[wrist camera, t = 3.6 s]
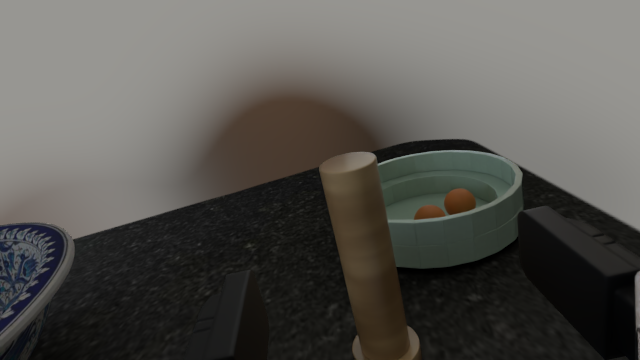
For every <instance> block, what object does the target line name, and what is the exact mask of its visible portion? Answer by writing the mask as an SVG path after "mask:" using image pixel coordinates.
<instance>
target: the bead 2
mask: <svg viewBox="0 0 640 360" xmlns="http://www.w3.org/2000/svg"><path fill="white" fill-rule="evenodd" d="M444 207H445V210H446V212H447V213H448V214H449V215H453V214H458V213H462V212H467V211H470V210H473V209H475V207H476V200H475V198H474V196H473V194H472V193H471V192H469V191H468V190H466V189H461V188H458V189H454V190H452V191H450V192H449V193H448V194H447V195H446V197H445V200H444Z"/></svg>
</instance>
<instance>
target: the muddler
mask: <svg viewBox="0 0 640 360" xmlns="http://www.w3.org/2000/svg"><path fill="white" fill-rule="evenodd" d="M319 171H320V175H321V179H322V184H323V188H324V192H325V197H326V201H327V205H328V209H329V214H330V218H331V222H332V226H333V231H334V235H335V239H336V243H337V248H338V252H339V256H340V260H341V265H342V269H343V273H344V278H345V282H346V286H347V290H348V295H349V299H350V303H351V307H352V312H353V316H354V320H355V324H356V329H357V333H358V335H357V336H356V337H355V339H354V341H353V345H352V352H353V356H354V360H422V354H421V348H420V342H419V338H418V336H417V334H416V333H415V331H414V330H413V329H412V328H410V327H409V326H407V323H406V317H405V312H404V306H403V301H402V296H401V290H400V285H399V279H398V274H397V268H396V263H395V257H394V252H393V246H392V241H391V235H390V230H389V224H388V219H387V213H386V208H385V202H384V197H383V191H382V186H381V180H380V175H379V169H378V164H377V158H376V156H375V155H374V154H372V153H368V152H353V153H347V154H343V155H339V156H336V157H333V158H331V159H328V160H327V161H325V162H324V163H322V164H321V165H320V167H319Z"/></svg>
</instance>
